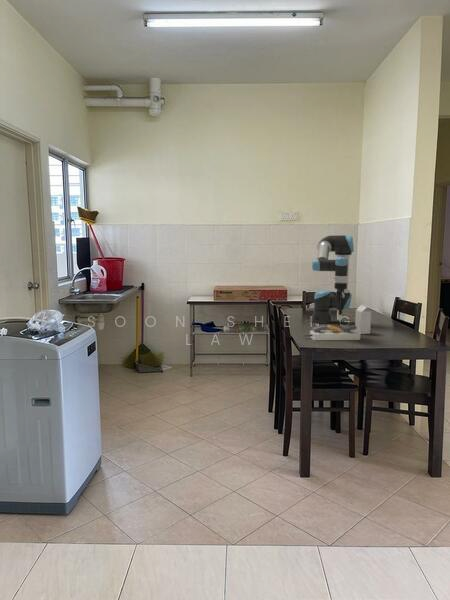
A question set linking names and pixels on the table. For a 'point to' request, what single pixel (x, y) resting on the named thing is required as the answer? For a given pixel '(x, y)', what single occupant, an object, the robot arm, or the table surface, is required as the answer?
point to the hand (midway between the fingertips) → (339, 319)
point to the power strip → (334, 335)
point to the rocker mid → (334, 328)
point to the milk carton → (363, 320)
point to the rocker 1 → (319, 328)
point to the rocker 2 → (349, 328)
